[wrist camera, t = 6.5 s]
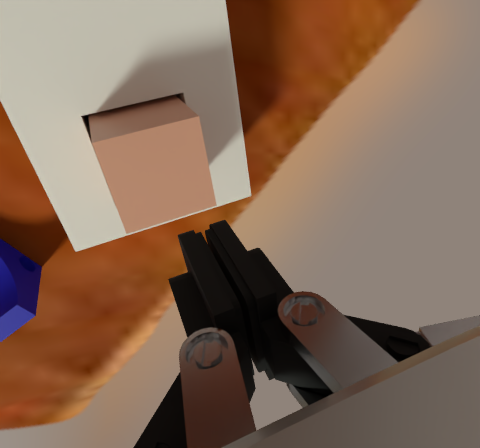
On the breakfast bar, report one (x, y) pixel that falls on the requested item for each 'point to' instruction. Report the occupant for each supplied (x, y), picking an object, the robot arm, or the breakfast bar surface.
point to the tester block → (115, 92)
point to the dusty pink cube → (153, 161)
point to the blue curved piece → (17, 289)
